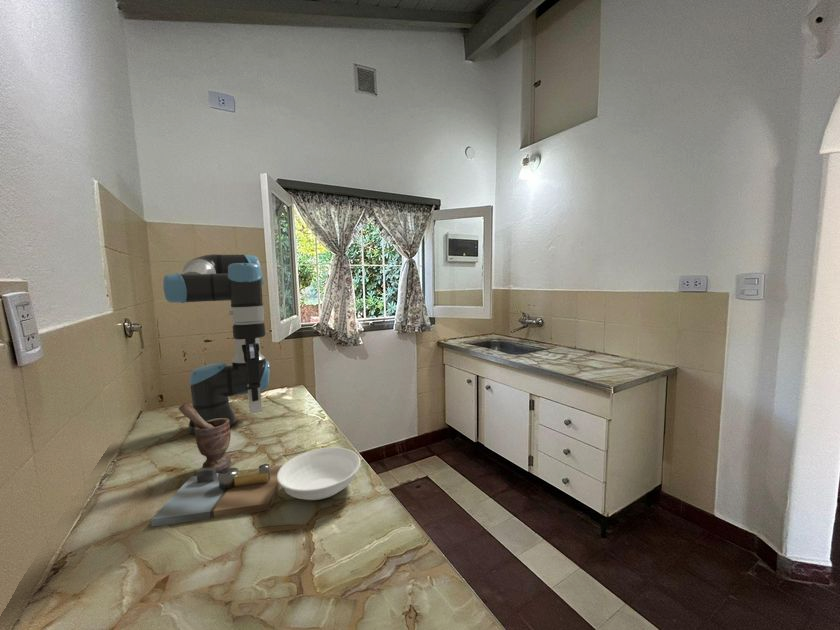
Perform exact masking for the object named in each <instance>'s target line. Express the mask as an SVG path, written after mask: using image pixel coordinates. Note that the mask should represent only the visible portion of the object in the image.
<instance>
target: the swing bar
mask: <svg viewBox="0 0 840 630" xmlns="http://www.w3.org/2000/svg"><path fill="white" fill-rule="evenodd" d="M269 467H270V464H268V463H263V464H260V465H259V466H258V468H259V469H256V468H253V469H254V470H248V469H245V470H246V471H240V470H239V468H237V467H228V468H226V469H224V470H222V471H219V472H218V473H219V474H218V481H219V488H220V489H230V488H232V487H234V486H241V485H249V484H256V483H264V482H268V481H269V480H270V477H271V475H270V468H269Z"/></svg>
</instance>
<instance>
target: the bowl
mask: <svg viewBox="0 0 840 630" xmlns="http://www.w3.org/2000/svg"><path fill="white" fill-rule="evenodd" d="M361 462H362V461H361V458H360V456H359V455H358V454H357V453H356V452H355V451H353V450H351V449H349V448H343V447H322V448H317V449H315V448H314V449H312V450H309V451H306V452H305V451H304V452H302V453H300V454H297V455H296V456H294V457H292V458H291V459H289V460H287V461H286V462H285V463H283V464H282V465H283V466H282V465H281V466H282V467H281V468H280V470H279V471H278V474H277V481H278V483H279V484H280V487H282V488H283V489H284V491H285V492H286V494H287V495H289V496H290V497H292V498H296V499H299V500H306V501H318V500H323V499H327V498H330V497H333V496H335V495H336V494H338V493H339V492H342V490H344V489H346V488H347V487H348V486H350V484H351V483H352V482H353V481H354V478H355V476H356V473H357V472H358V471H359V469H360V467H361V465H362V463H361Z"/></svg>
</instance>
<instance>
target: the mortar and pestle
mask: <svg viewBox="0 0 840 630" xmlns="http://www.w3.org/2000/svg"><path fill="white" fill-rule="evenodd" d="M178 410H179V412H180V413H181V414H182V415H184V416H185V417H186V418H188V419H189V421H190V420H192V421H193V422H194V423H195V424H196V426H195V428H194V431H195V434H194V436H195V443H196V446H197V448H198V451H199V453H200V454H201V455H202V456H204V457H206V459H205V461H204V462H203V463H202V467H201V468H211V467H216V473H220V472H221V471H223V470H225V469H228V468H231V465H232V460H231V458H230V456H228V455H226V454H225V453H226V451H227V450H228V448H229V447H230V443H231V442H230V441H231V427H230V421H229V419H227V418H217V419H212V420H208V421H205V420H203V418H202V417H201V416H200V415H199V414H198V413H197V411H196V410H195V409H194V408H193V406H192V405H191V404H190V403H188V402H184V403H183V404H182V405H180V406H179V407H178Z"/></svg>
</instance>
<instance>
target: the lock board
mask: <svg viewBox="0 0 840 630" xmlns="http://www.w3.org/2000/svg"><path fill="white" fill-rule="evenodd" d="M283 465H284V464H282V465H276V466H269V468H270V475H271V477H270V480H269V481H268V482H264V483H256V484H249V485H241V486H234V487H232V488H230V489H220V488H219V481H218V474H219V473H220V472H216V467H211V468H202V467H200V468H199V469H198V470H196V475H191V476H190V477H189V478H188V479H187V480H186V481H185V482H184V483H183V484H182V486H181V487H180V488H178V490H177V491H176V492H175V493H174V495H172V496H171V497H170V498H169V499H168V501H167V502H166V503H164V505H162V507H161V508H160V509H159V511H158V512H157V513H155V515H154V516H153V517H152V518H151V520H150V521H151V527H157V526H158V527H159V526H164V525H165V526H166V525H174V524H179V523H186V522H195V521H200V520H207V519H216V518H221V517H229V516H236V515H244V514H252V513H258V512H265V511H270V509H271V507H272V505H273V502H274V500H275V497H276V496H277V493H278V490H279V488H280V487H281V485H280V484H279V483H278V481H277V474H278V471H279V470H280V468H281V467H282V466H283ZM254 469H259V467H258V468H251V469H241V470H239V471H246V470H254Z"/></svg>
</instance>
